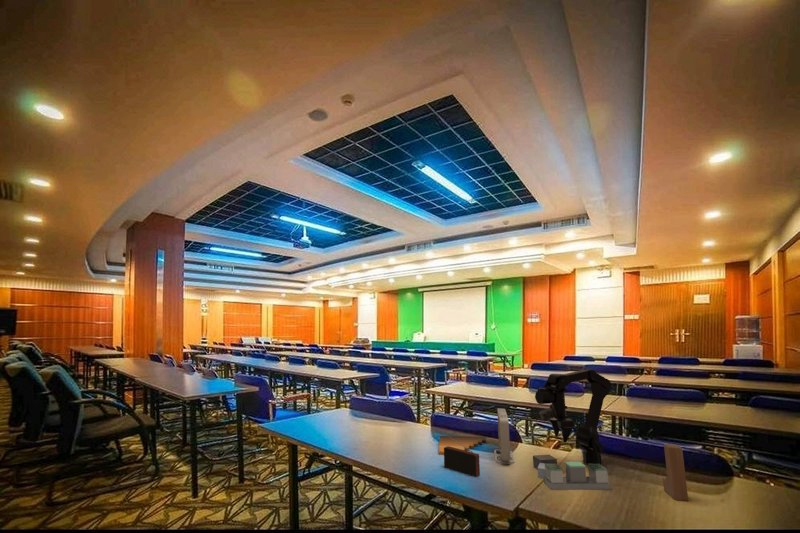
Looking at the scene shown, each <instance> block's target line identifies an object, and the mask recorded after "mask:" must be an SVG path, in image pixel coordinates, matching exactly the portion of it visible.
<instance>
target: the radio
mask: <svg viewBox="0 0 800 533" xmlns="http://www.w3.org/2000/svg"><path fill="white" fill-rule="evenodd" d="M440 432H441V433H442V434H444V436H448V437H449V436H450V435H447V434H446V433H445V432H443V431H442V430H440ZM450 438H451V437H450ZM451 439H452V438H451ZM453 440H454V439H453ZM454 441H455V440H454ZM456 442H457V441H456ZM457 443H458V442H457ZM459 444H460V443H459ZM460 445H461V444H460ZM462 446H463V445H462ZM463 447H464V446H463ZM465 448H466V447H465ZM466 449H467V448H466ZM468 450H469V451H465V450H461V449H457V448H453V447H449V446H447V447H445V448H444V455H443V468H444V469H447V470H451V471H454V472H458V473H460V474H464V475H467V476H471V477H475V478H477V477H479V476H480V475H481V474H480V473H481V470H480V469H481V468H480V454H479V453H476V452H473V451H472V450H471V449H468Z"/></svg>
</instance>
